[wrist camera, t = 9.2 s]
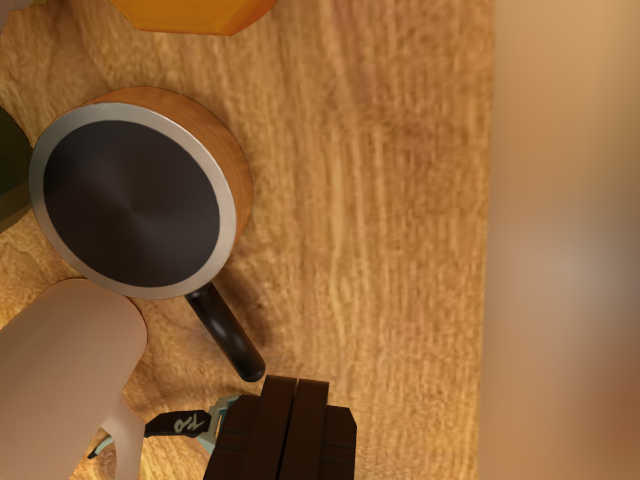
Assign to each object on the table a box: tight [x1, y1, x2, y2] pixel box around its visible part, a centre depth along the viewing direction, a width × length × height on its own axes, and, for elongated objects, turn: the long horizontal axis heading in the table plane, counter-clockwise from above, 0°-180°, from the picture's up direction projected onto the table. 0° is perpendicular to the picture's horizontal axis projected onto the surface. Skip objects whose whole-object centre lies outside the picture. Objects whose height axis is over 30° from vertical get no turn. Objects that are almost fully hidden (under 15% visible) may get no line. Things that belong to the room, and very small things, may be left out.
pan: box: [28, 87, 266, 382], centre depth 24 cm, size 15×9×3 cm, turn 27°
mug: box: [0, 279, 147, 480], centre depth 24 cm, size 10×7×12 cm, turn 38°
